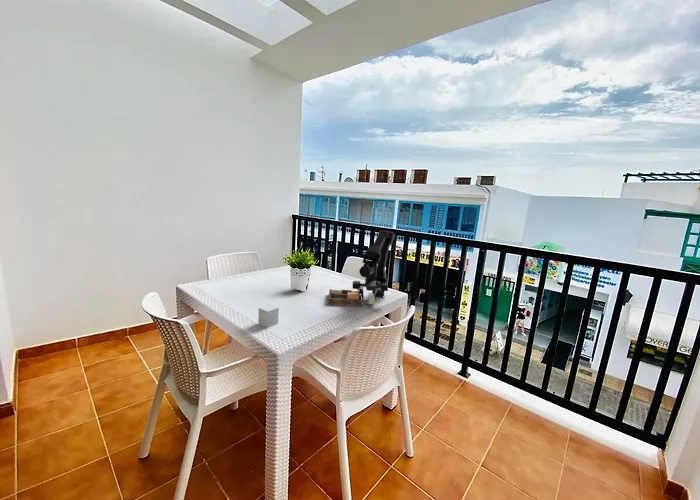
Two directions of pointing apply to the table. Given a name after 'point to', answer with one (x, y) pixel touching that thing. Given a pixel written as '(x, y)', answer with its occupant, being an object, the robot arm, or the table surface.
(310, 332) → the table surface
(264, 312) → the product box
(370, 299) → the cream orange dumbbell block
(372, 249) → the robot arm
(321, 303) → the table surface
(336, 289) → the cream white block dumbbell
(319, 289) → the table surface
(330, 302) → the lane rack
